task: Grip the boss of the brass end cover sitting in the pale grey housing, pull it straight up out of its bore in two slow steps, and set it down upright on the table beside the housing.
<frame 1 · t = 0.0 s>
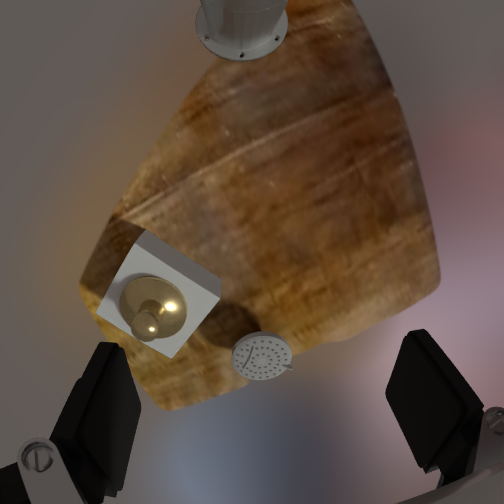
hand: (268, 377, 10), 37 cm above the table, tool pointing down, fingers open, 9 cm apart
end cover: (159, 292, 47), point 1 cm above the table, touching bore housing
showerhead: (260, 336, 54), on the table
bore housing: (161, 287, 49), on the table
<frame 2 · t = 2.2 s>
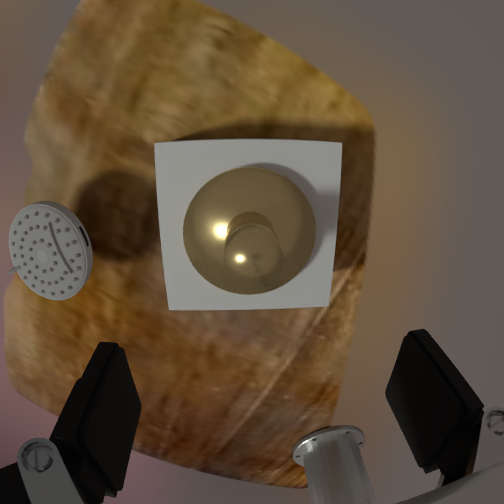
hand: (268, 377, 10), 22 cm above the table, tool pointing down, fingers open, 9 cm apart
end cover: (247, 216, 28), point 1 cm above the table, touching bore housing
showerhead: (72, 233, 30), on the table
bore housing: (246, 212, 30), on the table
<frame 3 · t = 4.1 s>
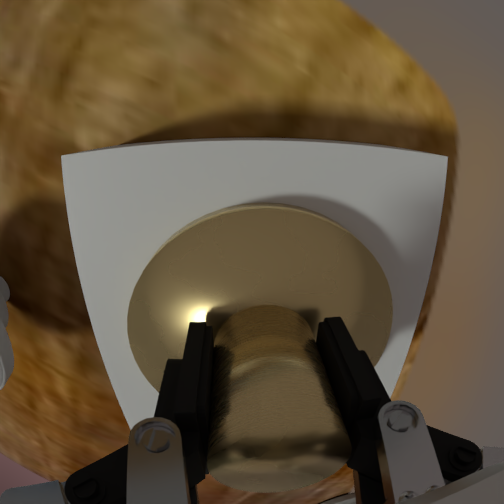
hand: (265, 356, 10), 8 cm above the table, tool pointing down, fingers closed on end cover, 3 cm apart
end cover: (254, 279, 16), point 2 cm above the table, touching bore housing, gripper
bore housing: (253, 267, 18), on the table
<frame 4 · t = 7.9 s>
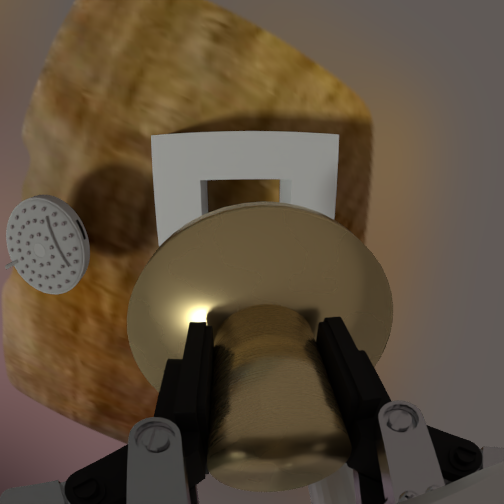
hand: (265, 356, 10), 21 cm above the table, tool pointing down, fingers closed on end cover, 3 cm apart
end cover: (254, 278, 16), point 15 cm above the table, touching gripper
showerhead: (69, 227, 30), on the table
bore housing: (243, 204, 30), on the table
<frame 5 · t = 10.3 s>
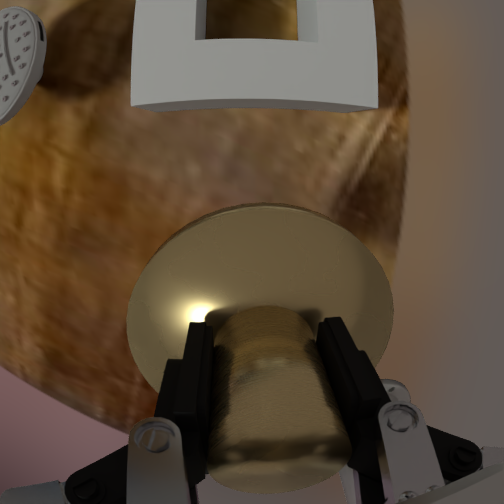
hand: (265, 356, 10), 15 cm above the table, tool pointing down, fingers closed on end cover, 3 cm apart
end cover: (254, 279, 16), point 9 cm above the table, touching gripper
showerhead: (32, 75, 18), on the table
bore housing: (252, 22, 18), on the table
when the fingers open (7 cm above the table, at t = 11.9 s): end cover drops 1 cm, on the table.
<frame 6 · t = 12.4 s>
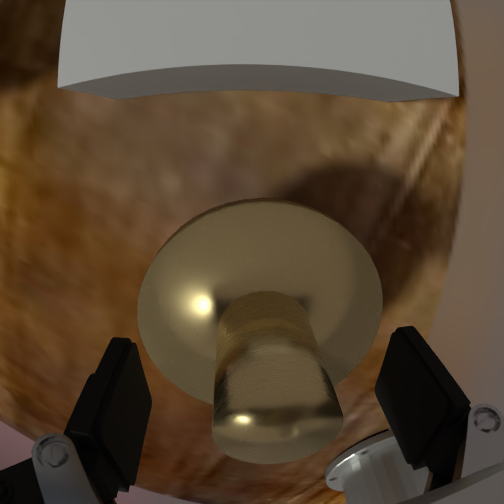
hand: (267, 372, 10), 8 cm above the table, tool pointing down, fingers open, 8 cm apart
end cover: (254, 271, 17), on the table
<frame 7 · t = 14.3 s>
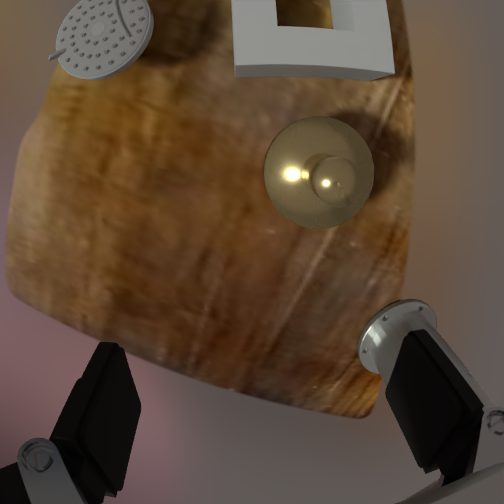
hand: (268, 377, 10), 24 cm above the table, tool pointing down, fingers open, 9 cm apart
end cover: (307, 166, 31), on the table
showerhead: (120, 47, 25), on the table
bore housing: (300, 17, 25), on the table
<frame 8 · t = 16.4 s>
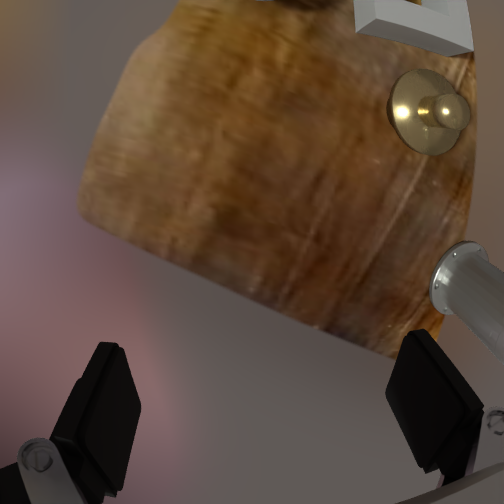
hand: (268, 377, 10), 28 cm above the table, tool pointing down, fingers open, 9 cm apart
end cover: (406, 112, 33), on the table
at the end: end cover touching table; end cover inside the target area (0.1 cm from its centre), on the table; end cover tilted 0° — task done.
